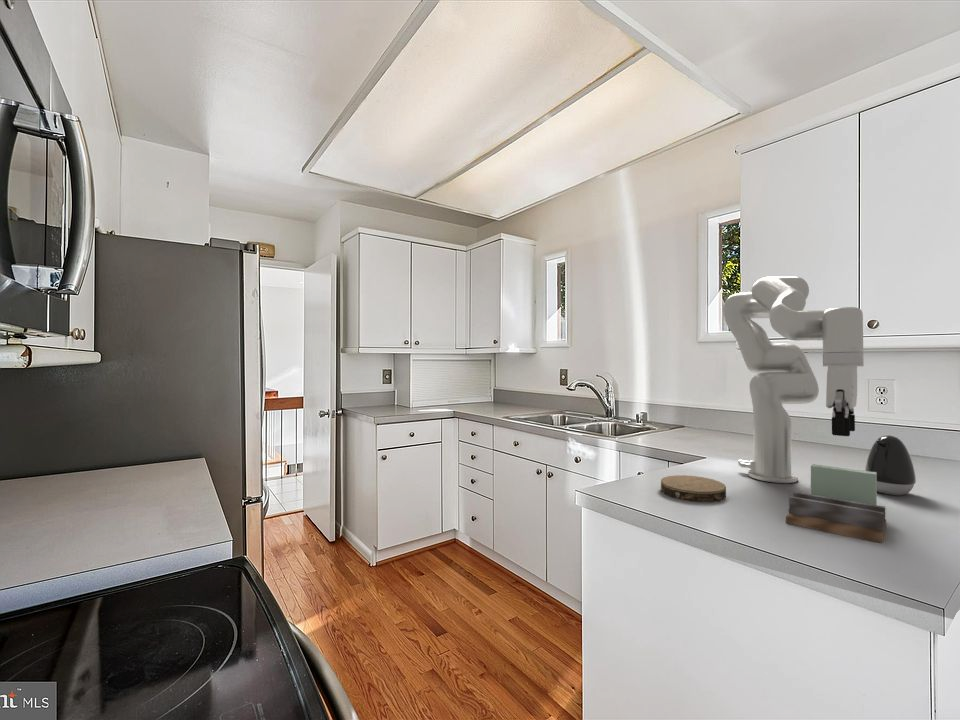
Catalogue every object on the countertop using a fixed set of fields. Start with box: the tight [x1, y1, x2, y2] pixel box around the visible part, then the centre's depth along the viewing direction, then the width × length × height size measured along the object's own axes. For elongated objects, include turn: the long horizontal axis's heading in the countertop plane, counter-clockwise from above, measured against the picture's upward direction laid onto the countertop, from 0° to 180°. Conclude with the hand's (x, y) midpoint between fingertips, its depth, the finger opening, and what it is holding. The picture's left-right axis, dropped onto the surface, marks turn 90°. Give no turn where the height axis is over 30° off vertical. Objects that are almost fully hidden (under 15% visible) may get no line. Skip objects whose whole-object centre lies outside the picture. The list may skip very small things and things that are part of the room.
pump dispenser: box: [864, 435, 917, 496], centre depth 122 cm, size 10×10×15 cm
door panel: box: [810, 463, 878, 505], centre depth 108 cm, size 12×2×10 cm, turn 46°
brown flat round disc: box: [660, 474, 727, 503], centre depth 124 cm, size 16×16×3 cm
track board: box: [785, 491, 887, 544], centre depth 100 cm, size 16×12×5 cm
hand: (843, 433), depth 108 cm, fingers open, 9 cm apart
